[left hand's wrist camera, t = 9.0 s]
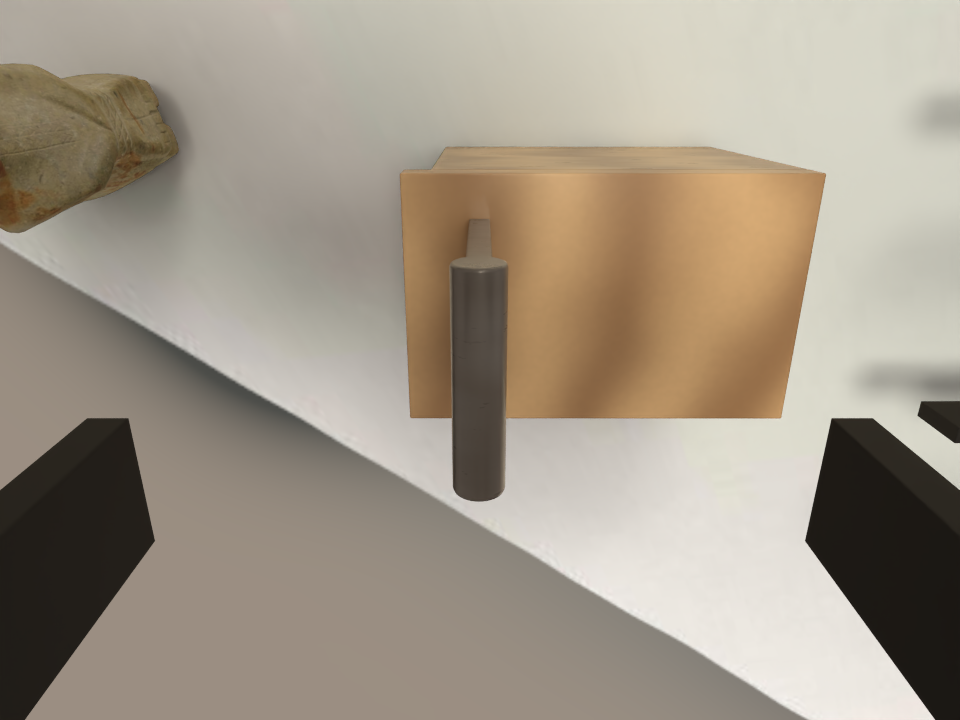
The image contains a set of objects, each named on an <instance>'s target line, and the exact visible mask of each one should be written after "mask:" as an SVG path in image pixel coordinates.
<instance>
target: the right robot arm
mask: <svg viewBox="0 0 960 720" xmlns="http://www.w3.org/2000/svg"><path fill="white" fill-rule="evenodd" d="M918 416H919V417H920V418H921V419H923V420H924V421H925V422H927V423H928V424H930V425H931V426H932V427H934V428H935V429H936V430H938V431H939V432H940V433H942V434H943V435H944V436H946V437H947V438H949V439H950V440H951V441H953V442H954V443H960V401H921V404H920V408H919V412H918Z"/></svg>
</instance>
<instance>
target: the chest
mask: <svg viewBox="0 0 960 720" xmlns="http://www.w3.org/2000/svg"><path fill="white" fill-rule="evenodd" d="M431 170H807V169H803V168H799V167H795V166H790V165H786V164H782V163H777V162H773V161H769V160H764V159H760V158H756V157H751V156H747V155H743V154H738V153H734V152H730V151H726V150H721V149H717V148H712V147H446V148H445V150H444V151H443V153H442V154H441V156H440V157H439V159H438V160H437V162H436V163H435V165H434V166H433V168H432V169H431Z"/></svg>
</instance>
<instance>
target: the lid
mask: <svg viewBox="0 0 960 720" xmlns="http://www.w3.org/2000/svg"><path fill="white" fill-rule="evenodd" d="M825 177H826V174H825V173H821V172H817V171H813V170H404V171H403V172H401V173H400V190H401V213H402V236H403V259H404V283H405V306H406V329H407V353H408V376H409V399H410V417H411V418H452V455H453V488H454V491H455V492H456V494H457V495H458V496H460V497H461V498H463V499H466V500H470V501H488V500H492V499H495V498H497V497H498V496H500V495H501V494H502V492H503V490H504V488H505V453H506V418H781V415H782V409H783V404H784V399H785V393H786V388H787V382H788V377H789V372H790V366H791V361H792V355H793V350H794V345H795V339H796V334H797V328H798V323H799V318H800V312H801V307H802V301H803V296H804V291H805V285H806V280H807V274H808V269H809V264H810V258H811V253H812V247H813V242H814V237H815V231H816V226H817V220H818V215H819V210H820V204H821V199H822V193H823V188H824V183H825Z"/></svg>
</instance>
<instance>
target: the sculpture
mask: <svg viewBox="0 0 960 720" xmlns="http://www.w3.org/2000/svg"><path fill="white" fill-rule="evenodd" d="M158 106H159V102H158V99H157V97H156V95H155V94H154V92H153V90H152V89H151V87H150V85H149V83H148V82H147V81H145V80H139V79H138V78H136V77H133V76H127V75H117V74H88V75H78V76H72V77H66V78H63V79H60V78H58V77H57V76H55V75H53V74H51V73H49V72H48V71H46V70H44V69H42V68H40V67H37V66H34V65H27V64H1V65H0V228H2V229H3V230H5V231H7V232H10V233H21V232H24V231H26V230H28V229H30V228H32V227H34V226H36V225H38V224H40V223H42V222H44V221H46V220H48V219H50V218H52V217H54V216H55V215H57V214H59V213H61V212H62V211H64V210H66V209H68V208H70V207H73V206H75V205H77V204H79V203H81V202H83V201H87V200H92V199H96V198H99V197H103V196H105V195H108V194H110V193H112V192H114V191H116V190H118V189H120V188H122V187H124V186H126V185H128V184H130V183H132V182H133V181H135V180H137V179H138V178H140V177H142V176H143V175H145V174H147V173H148V172H150V171H151V170H153V169H154V168H155V167H156V166H158V165H160V164H161V163H163V162H165V161H166V160H168V159H169V158H171V157H172V156H174V155H175V154H177V153H178V151H179V148H178V144H177V141H176V138H175V136H174V133H173V131H172V129H171V128H170V127H169V126H168V125H166V124H164V123H163V121H162V118H161V116H160V114H159V111H158V109H157V107H158Z"/></svg>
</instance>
